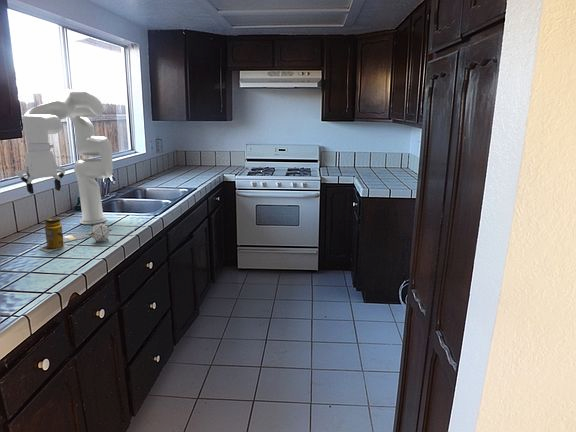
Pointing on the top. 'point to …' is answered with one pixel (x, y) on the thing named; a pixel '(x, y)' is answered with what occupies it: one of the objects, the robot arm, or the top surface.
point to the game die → (100, 232)
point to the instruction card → (75, 237)
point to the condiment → (53, 235)
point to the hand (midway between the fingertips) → (44, 191)
